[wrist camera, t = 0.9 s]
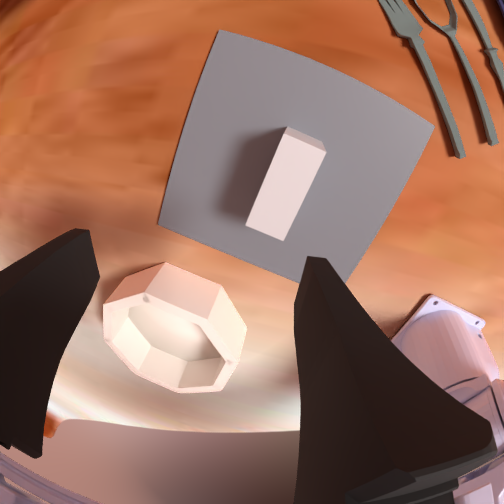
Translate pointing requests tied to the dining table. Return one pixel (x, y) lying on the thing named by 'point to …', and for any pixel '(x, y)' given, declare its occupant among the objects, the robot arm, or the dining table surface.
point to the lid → (288, 159)
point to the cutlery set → (411, 29)
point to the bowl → (174, 329)
